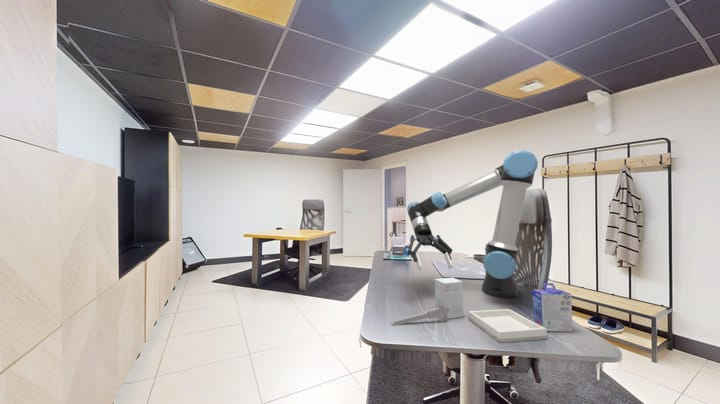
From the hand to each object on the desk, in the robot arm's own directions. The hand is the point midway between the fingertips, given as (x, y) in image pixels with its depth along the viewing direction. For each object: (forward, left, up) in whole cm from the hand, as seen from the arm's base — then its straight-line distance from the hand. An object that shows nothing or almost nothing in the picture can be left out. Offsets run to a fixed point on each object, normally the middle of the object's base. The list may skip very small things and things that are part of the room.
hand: (435, 267), depth 107 cm
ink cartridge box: (-29, +26, -15) cm, 42 cm away
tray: (-13, +24, -15) cm, 31 cm away
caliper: (+13, +15, -16) cm, 26 cm away
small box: (0, +11, -15) cm, 19 cm away
